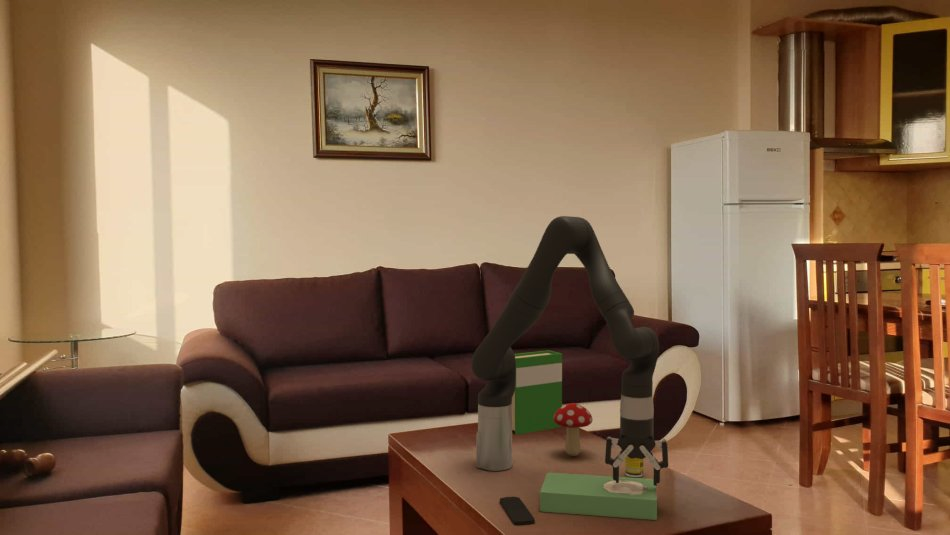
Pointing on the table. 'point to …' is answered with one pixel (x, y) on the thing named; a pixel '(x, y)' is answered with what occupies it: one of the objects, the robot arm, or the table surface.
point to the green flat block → (598, 496)
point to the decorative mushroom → (572, 425)
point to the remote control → (517, 511)
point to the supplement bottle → (633, 467)
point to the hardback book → (536, 391)
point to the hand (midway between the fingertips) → (636, 483)
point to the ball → (624, 489)
